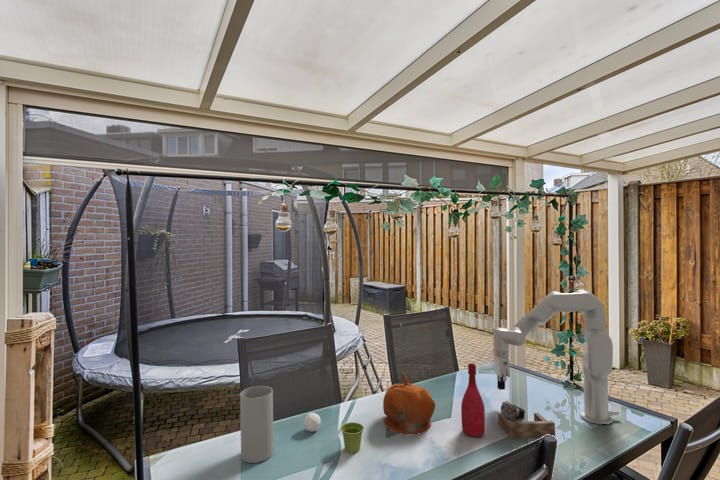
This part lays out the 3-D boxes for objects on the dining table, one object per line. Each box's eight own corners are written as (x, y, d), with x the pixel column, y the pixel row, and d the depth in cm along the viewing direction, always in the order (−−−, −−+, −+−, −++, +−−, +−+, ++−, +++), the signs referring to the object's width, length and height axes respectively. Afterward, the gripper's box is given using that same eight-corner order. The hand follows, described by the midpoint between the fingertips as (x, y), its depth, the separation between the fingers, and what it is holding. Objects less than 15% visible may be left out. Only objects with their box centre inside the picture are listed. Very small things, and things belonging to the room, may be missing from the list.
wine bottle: (469, 439, 155) (468, 368, 156) (457, 428, 165) (456, 361, 165) (489, 436, 158) (488, 366, 158) (476, 425, 167) (475, 359, 168)
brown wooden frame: (538, 421, 170) (538, 408, 170) (555, 437, 156) (554, 422, 156) (497, 422, 170) (497, 409, 170) (510, 438, 156) (510, 424, 156)
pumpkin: (395, 407, 188) (394, 363, 188) (442, 419, 174) (441, 371, 174) (372, 425, 169) (371, 376, 169) (423, 440, 155) (422, 387, 156)
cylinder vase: (235, 455, 147) (234, 392, 147) (263, 443, 156) (262, 383, 156) (250, 468, 138) (249, 401, 138) (279, 454, 147) (278, 391, 147)
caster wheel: (521, 417, 179) (525, 424, 170) (497, 410, 182) (500, 416, 173) (523, 403, 180) (528, 409, 171) (499, 396, 183) (502, 402, 173)
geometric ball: (308, 436, 166) (301, 418, 169) (324, 427, 168) (316, 410, 172) (307, 435, 159) (299, 417, 163) (324, 426, 162) (316, 408, 165)
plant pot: (351, 440, 156) (350, 420, 157) (368, 447, 150) (368, 426, 151) (336, 450, 149) (335, 428, 149) (354, 458, 143) (353, 436, 143)
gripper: (515, 357, 180) (515, 394, 180) (502, 348, 195) (502, 383, 195) (499, 357, 180) (499, 395, 180) (488, 348, 195) (488, 383, 195)
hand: (501, 388), depth 187 cm, fingers closed
